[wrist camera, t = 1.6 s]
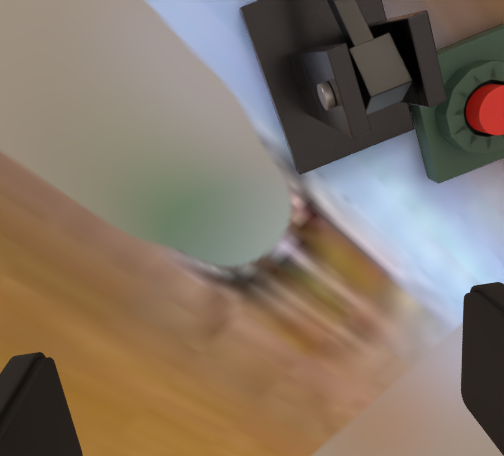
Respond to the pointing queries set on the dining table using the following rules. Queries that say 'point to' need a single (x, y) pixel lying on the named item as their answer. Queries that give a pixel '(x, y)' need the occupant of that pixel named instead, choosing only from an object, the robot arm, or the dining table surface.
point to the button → (487, 109)
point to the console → (461, 108)
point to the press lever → (371, 58)
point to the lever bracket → (335, 76)
